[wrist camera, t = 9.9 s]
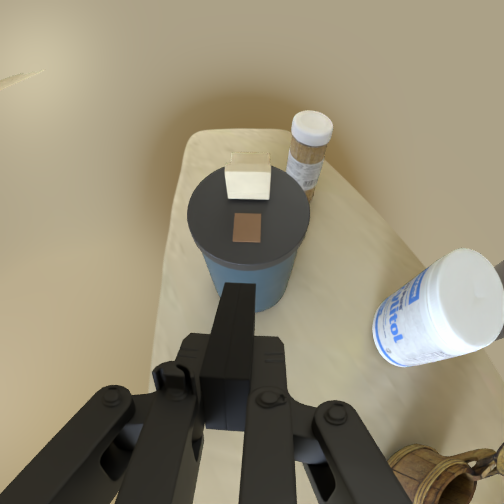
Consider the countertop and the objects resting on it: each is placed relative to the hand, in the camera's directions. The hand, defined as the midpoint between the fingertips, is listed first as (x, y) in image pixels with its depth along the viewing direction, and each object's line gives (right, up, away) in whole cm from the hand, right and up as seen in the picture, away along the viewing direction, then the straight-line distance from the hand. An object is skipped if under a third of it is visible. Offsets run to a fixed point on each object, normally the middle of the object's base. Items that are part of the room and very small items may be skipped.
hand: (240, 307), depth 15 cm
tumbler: (0, 0, +22) cm, 22 cm away
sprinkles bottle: (+7, +11, +28) cm, 31 cm away
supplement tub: (+19, -7, +19) cm, 28 cm away
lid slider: (0, +9, +9) cm, 13 cm away
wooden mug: (+22, -24, +11) cm, 34 cm away
